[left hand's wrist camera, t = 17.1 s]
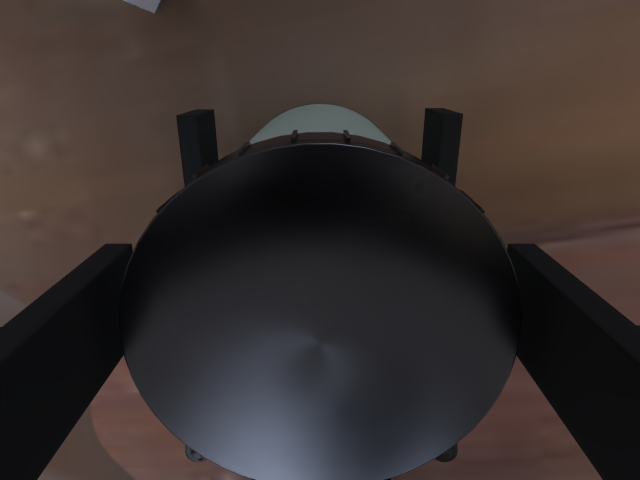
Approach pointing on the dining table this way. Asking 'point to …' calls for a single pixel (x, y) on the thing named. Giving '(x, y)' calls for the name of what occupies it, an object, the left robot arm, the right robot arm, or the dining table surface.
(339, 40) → the dining table surface
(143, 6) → the electronic device
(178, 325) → the lid
